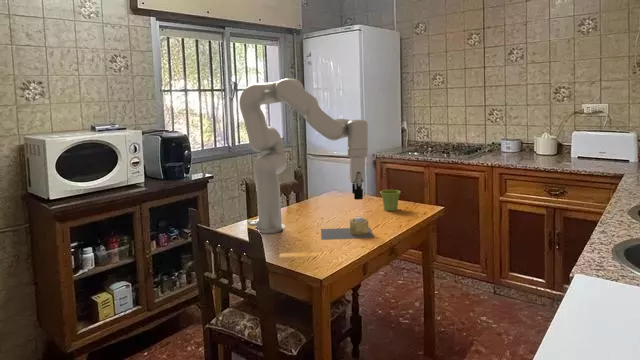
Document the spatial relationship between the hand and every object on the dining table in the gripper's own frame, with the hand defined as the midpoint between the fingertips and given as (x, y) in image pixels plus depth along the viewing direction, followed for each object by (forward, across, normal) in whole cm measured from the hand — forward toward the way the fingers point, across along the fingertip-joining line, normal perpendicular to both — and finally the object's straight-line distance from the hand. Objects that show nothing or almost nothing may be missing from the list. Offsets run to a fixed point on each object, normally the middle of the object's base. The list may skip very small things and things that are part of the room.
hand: (357, 196), depth 196 cm
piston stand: (+16, 0, -4) cm, 17 cm away
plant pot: (+16, -39, +19) cm, 46 cm away
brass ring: (+15, 0, +1) cm, 15 cm away
